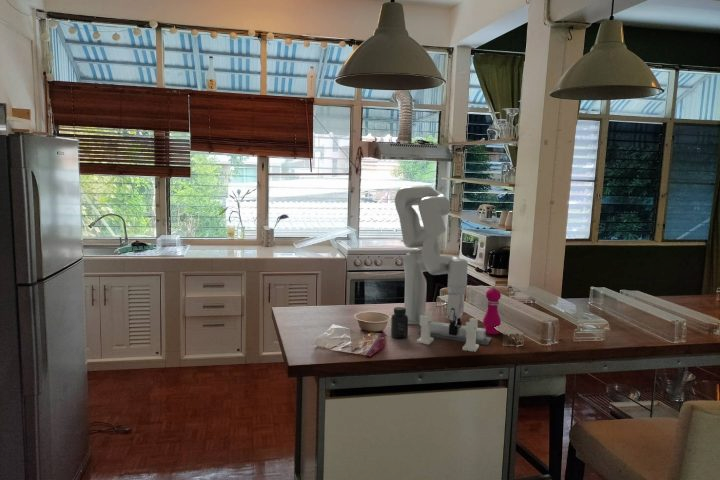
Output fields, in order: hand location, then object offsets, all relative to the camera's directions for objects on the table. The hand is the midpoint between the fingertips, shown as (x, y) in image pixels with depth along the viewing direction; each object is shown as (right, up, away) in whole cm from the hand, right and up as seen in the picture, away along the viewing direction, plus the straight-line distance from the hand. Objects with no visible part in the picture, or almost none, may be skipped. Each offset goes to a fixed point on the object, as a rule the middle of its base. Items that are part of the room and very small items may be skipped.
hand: (455, 332), depth 221 cm
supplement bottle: (-23, -2, -2) cm, 23 cm away
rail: (0, -1, 0) cm, 1 cm away
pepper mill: (+17, -1, +8) cm, 19 cm away
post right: (+4, -4, -13) cm, 14 cm away
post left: (-13, -3, -6) cm, 14 cm away
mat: (0, -2, 0) cm, 2 cm away
